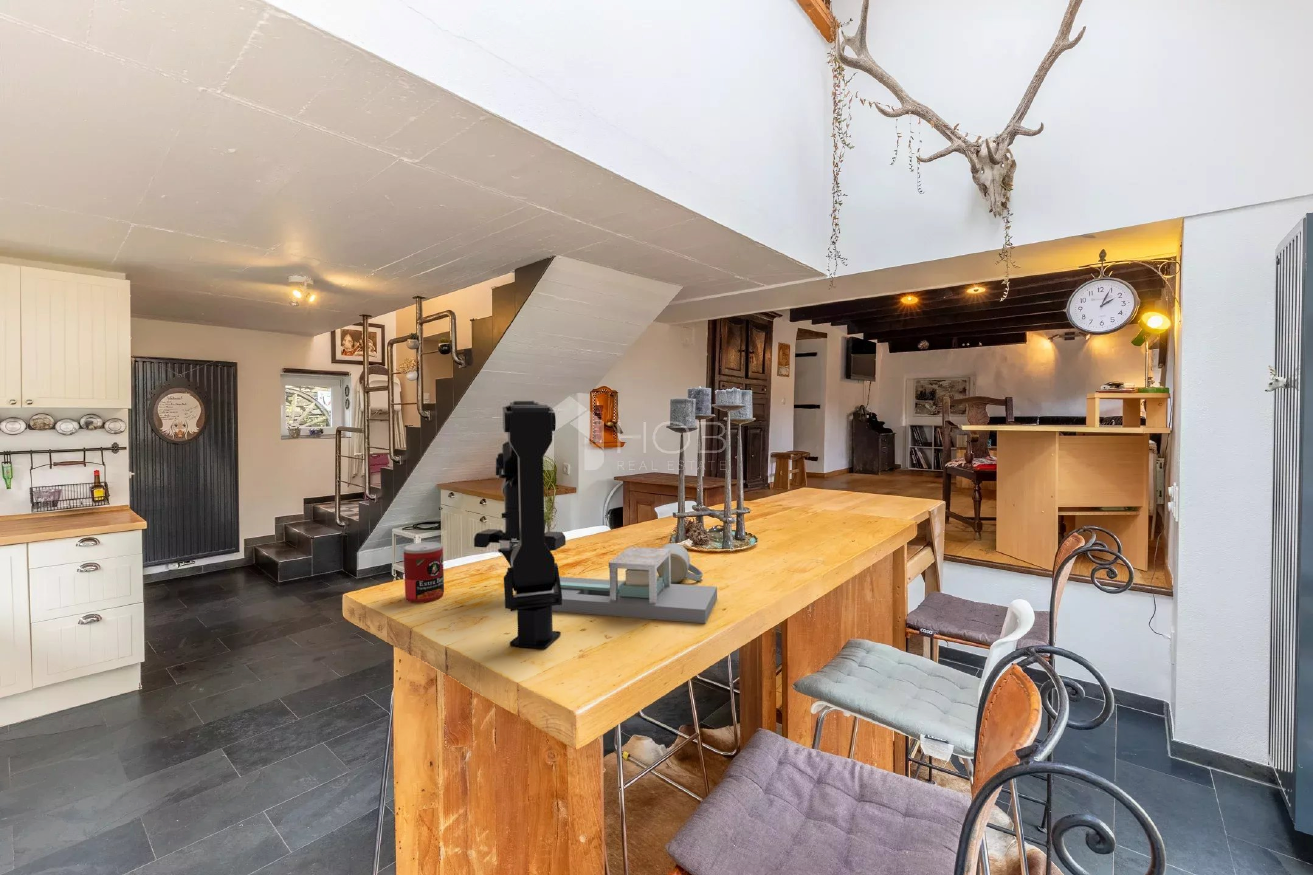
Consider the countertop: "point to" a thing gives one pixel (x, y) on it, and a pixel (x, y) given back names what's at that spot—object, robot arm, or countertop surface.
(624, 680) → the countertop surface
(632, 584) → the beech block
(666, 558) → the grey stone table
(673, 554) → the ceramic mug
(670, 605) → the slate deck
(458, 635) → the countertop surface
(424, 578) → the canned food
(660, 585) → the long teal base
